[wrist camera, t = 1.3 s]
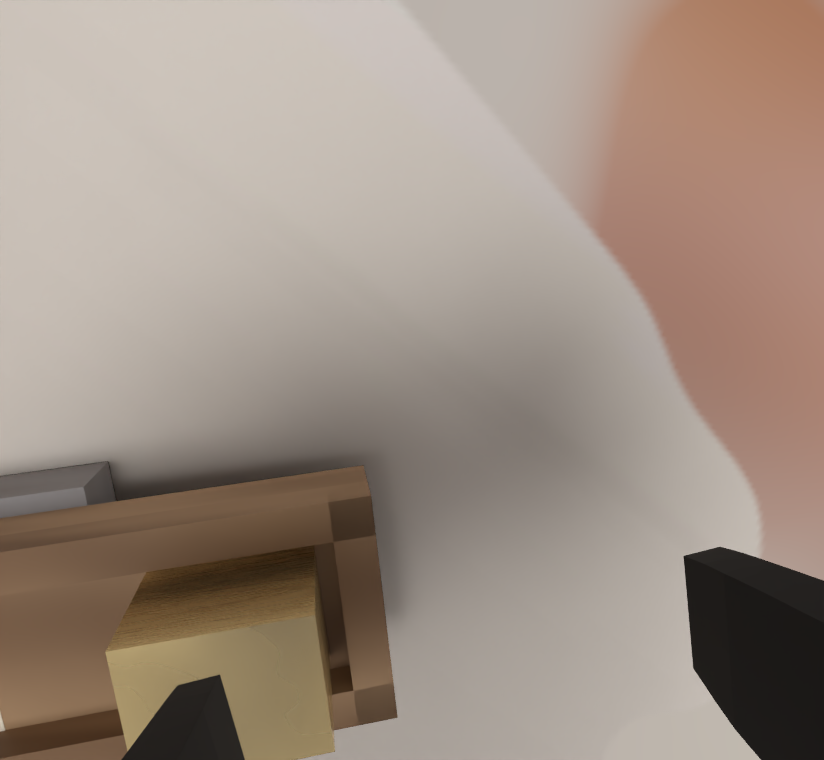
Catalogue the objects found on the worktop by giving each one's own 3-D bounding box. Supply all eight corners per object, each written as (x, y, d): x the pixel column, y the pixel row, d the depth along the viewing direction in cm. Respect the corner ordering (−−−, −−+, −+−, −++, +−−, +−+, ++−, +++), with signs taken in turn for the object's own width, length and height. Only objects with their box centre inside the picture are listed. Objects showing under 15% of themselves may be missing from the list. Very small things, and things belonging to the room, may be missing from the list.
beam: (381, 637, 20) (399, 734, 16) (-213, 746, 18) (-365, 890, 14) (355, 427, 19) (368, 475, 15) (-295, 516, 17) (-492, 602, 12)
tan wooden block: (330, 657, 16) (334, 751, 13) (170, 687, 16) (136, 791, 13) (314, 543, 16) (314, 614, 13) (146, 570, 15) (105, 651, 12)
